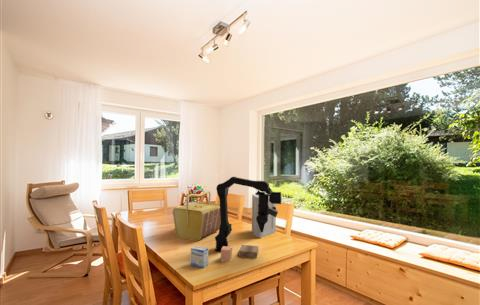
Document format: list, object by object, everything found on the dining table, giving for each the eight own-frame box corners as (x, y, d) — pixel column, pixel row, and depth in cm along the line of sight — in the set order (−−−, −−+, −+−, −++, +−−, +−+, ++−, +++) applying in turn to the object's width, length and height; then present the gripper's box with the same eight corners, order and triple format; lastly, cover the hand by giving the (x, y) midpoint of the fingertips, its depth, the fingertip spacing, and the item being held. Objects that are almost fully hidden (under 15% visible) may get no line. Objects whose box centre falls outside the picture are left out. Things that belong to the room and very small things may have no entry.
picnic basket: (195, 227, 188) (196, 189, 190) (224, 231, 178) (224, 191, 179) (170, 237, 162) (171, 193, 163) (201, 243, 151) (203, 196, 152)
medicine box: (190, 265, 119) (190, 248, 119) (194, 262, 123) (195, 245, 124) (203, 268, 116) (204, 250, 117) (208, 264, 120) (208, 247, 121)
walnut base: (238, 256, 132) (239, 251, 132) (241, 249, 141) (241, 244, 142) (256, 257, 130) (256, 252, 130) (258, 251, 140) (258, 246, 140)
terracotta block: (220, 260, 126) (221, 249, 126) (223, 257, 131) (223, 246, 131) (230, 261, 125) (230, 250, 125) (231, 257, 130) (232, 246, 130)
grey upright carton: (260, 228, 188) (260, 193, 189) (275, 232, 178) (276, 195, 179) (244, 233, 173) (245, 195, 174) (260, 238, 163) (261, 197, 164)
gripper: (277, 206, 126) (276, 236, 126) (277, 201, 144) (276, 226, 144) (256, 205, 128) (255, 234, 127) (259, 199, 146) (258, 225, 146)
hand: (262, 229), depth 136 cm, fingers open, 9 cm apart
